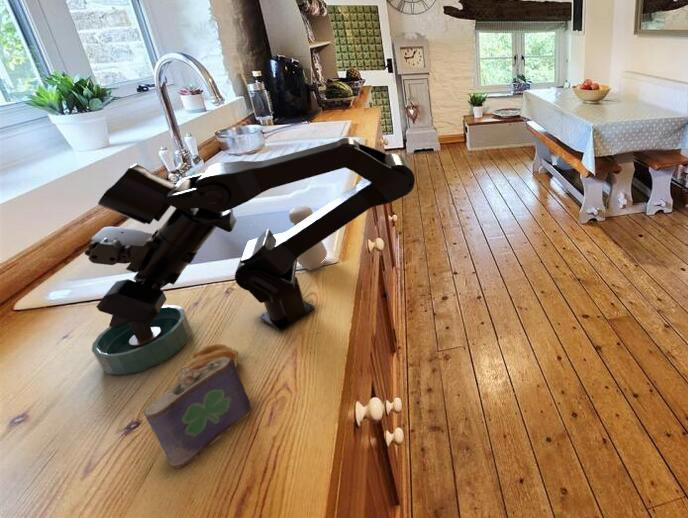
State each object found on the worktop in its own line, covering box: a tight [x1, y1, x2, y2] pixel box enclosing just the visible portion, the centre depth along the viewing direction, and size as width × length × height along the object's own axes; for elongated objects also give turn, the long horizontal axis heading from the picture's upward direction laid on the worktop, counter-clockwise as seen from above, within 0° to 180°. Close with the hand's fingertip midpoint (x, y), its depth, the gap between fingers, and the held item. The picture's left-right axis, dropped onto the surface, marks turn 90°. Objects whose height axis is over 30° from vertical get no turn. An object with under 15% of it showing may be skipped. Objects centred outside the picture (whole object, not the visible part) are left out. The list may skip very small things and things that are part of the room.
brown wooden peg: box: [129, 321, 163, 350], centre depth 63 cm, size 4×4×10 cm
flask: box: [143, 357, 253, 469], centre depth 49 cm, size 9×3×11 cm, turn 151°
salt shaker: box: [288, 205, 328, 271], centre depth 83 cm, size 6×6×13 cm
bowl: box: [91, 304, 193, 375], centre depth 64 cm, size 11×11×4 cm
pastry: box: [183, 343, 239, 371], centre depth 57 cm, size 9×7×4 cm
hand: (121, 315), depth 62 cm, fingers open, 5 cm apart
